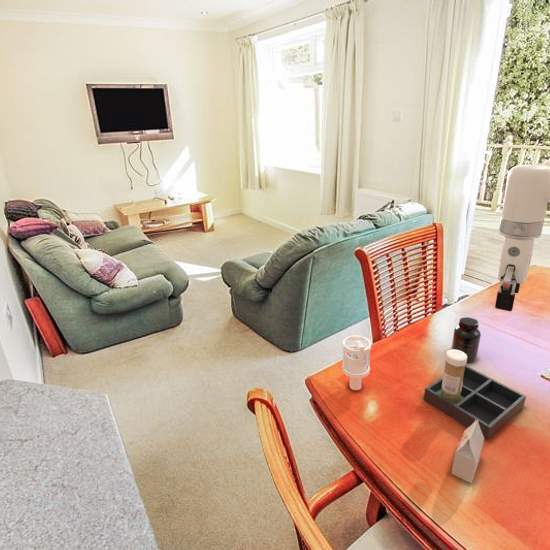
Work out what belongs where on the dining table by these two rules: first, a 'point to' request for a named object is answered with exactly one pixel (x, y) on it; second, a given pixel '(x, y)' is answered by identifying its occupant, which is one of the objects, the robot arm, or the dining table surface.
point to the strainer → (356, 360)
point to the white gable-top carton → (468, 453)
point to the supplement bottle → (467, 338)
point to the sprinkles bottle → (453, 375)
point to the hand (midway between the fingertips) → (506, 300)
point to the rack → (478, 402)
